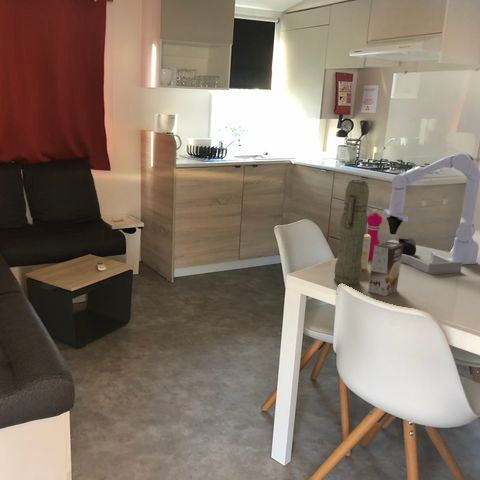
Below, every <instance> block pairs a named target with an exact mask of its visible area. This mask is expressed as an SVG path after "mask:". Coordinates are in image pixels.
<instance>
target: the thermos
mask: <svg viewBox="0 0 480 480" xmlns="http://www.w3.org/2000/svg"><path fill="white" fill-rule="evenodd" d="M369 194H370V189H369V184H368V183H367V182H366V181H365V180H359V179H357V180H356V179H353V180H350V181H348V183H347V185H346V188H345V192H344V202H343V203H344V207H343V210H342V213H341V215H340V221H339V229H338V231H339V233H340V235H339V243H338V251H337V252H338V253H337V260H336V262H335V265H334V266H335V267H334V272H333V273H334V279H333V281H334V283H336V284H338V285H341V284H340V283H343V284H346V285H348V286H349V287H356V286H358V285H360V279H361V276H362V271H363V270H362V264H361V257H362V248H363V240H364V236H365V234H367V229H368V228H367V225H368V223H367V220H368V218H367V216H368V215H367V210H368V209H367V208H368V207H367V206H368V203H369ZM346 285H345V286H346ZM348 286H347V287H348Z"/></svg>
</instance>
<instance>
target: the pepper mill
mask: <svg viewBox="0 0 480 480" xmlns="http://www.w3.org/2000/svg"><path fill="white" fill-rule="evenodd" d="M367 218H368V220H367V228H366V229H367V232H366V234H369V235H370V237H371V241H370V249H369V258H368V261H372V260H373V252H374V245H376V244H379V243H380V240H379V238H378V237H379V235H378V234H379V231H380V230H381V229H380V228H381V223H382V222H383V217H382V215H381V214H379V213H378V209H373V211H372V212H370V213H369V214H368V215H367Z"/></svg>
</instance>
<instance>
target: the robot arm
mask: <svg viewBox="0 0 480 480" xmlns="http://www.w3.org/2000/svg"><path fill="white" fill-rule="evenodd" d="M443 168H450V169H451V168H454V169H455V170H457V171H459V172H460V173H462V174H463V175H464V177H466V184H465V185H466V186H465V189H464V190H465V191H464V198H463V204H462V211H461V218H460V220H459V226H458V228H457V229H456V231H455V237H454V241H453V247H452V252H451V257H446V258H447V259H449V260H452V261H461V262H462V266H463V265H474V264H475V265H476V264H478V263H479V262H478V261H477V260H478V255H479V244H478V242H477V241H476V240H474V238H473V236H474V235H475V234H476V228H475V225H474V223H475V214H476V206H477V201H478V194H479V189H480V169H479V167H478V165H477V163H476V161H475V158H474V157H473V156H471V154H469V153H468V152H459V153H457V154H453V155H448V156H445V157H443V158H441V159H439V160H437V161H435V162H432V163H431V164H428V165H426V166H423V167H422V166H420V165H417V166H416V165H414V166H412V168H411V169H409V170H407V171H402V172H401V173H399V174H396V175H395V176H394V177H393V178H392V181H391V186H392V189H391V193H390V194H391V195H390V202H389V209H383V213H382V214H383V215H387V216H386V220H387V223H388V228H389V234H390V235H396V234H397V232H398V230H399V228H400V226H401V225H402V224H403V222H409V216H408V215H406V214H405V213H403V212H404V208H405V201H406V192H407V187H408V186H411V185H413V184H415V183H418V182H420V181H423V180H424V179H426V175H429V174H431V173H434V172H436V171H438V170H441V169H443Z"/></svg>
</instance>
